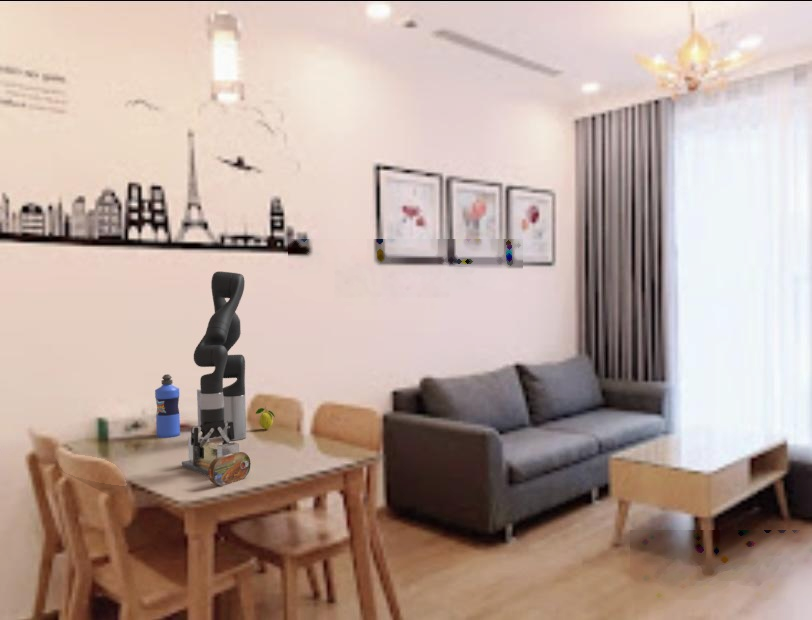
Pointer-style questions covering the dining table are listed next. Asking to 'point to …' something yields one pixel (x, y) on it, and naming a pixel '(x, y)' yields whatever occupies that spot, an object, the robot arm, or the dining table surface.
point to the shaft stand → (203, 468)
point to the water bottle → (167, 409)
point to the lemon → (265, 418)
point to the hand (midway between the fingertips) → (213, 455)
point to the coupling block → (209, 453)
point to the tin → (229, 468)
